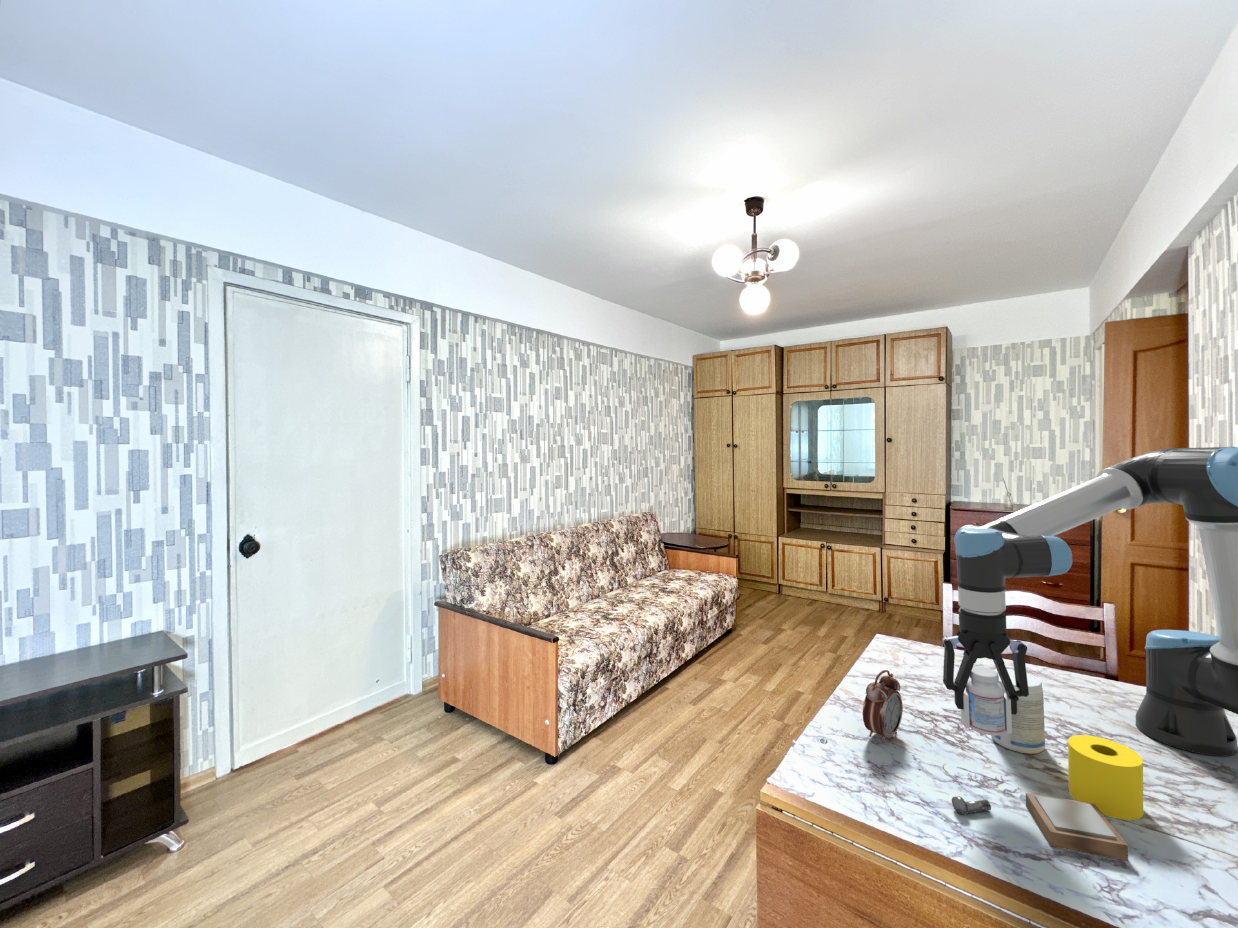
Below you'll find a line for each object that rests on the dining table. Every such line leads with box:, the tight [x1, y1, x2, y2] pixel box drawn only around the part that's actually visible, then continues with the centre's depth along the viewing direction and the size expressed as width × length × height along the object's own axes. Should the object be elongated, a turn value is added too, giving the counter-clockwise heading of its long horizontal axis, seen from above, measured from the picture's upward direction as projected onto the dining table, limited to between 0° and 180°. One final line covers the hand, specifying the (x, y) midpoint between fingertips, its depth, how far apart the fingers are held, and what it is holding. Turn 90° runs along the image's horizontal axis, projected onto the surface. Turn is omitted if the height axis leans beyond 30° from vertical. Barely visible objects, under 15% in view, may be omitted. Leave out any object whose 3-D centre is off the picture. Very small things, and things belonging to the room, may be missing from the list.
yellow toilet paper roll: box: [1067, 734, 1144, 821], centre depth 95 cm, size 10×10×9 cm
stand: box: [1025, 792, 1129, 862], centre depth 88 cm, size 10×10×3 cm
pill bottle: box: [965, 666, 1005, 736], centre depth 100 cm, size 6×6×11 cm
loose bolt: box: [951, 795, 992, 815], centre depth 93 cm, size 6×3×3 cm, turn 95°
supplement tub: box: [990, 668, 1046, 755], centre depth 113 cm, size 10×10×15 cm
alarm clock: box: [862, 669, 904, 745], centre depth 118 cm, size 11×5×15 cm, turn 128°
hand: (985, 726), depth 100 cm, fingers closed on pill bottle, 6 cm apart
